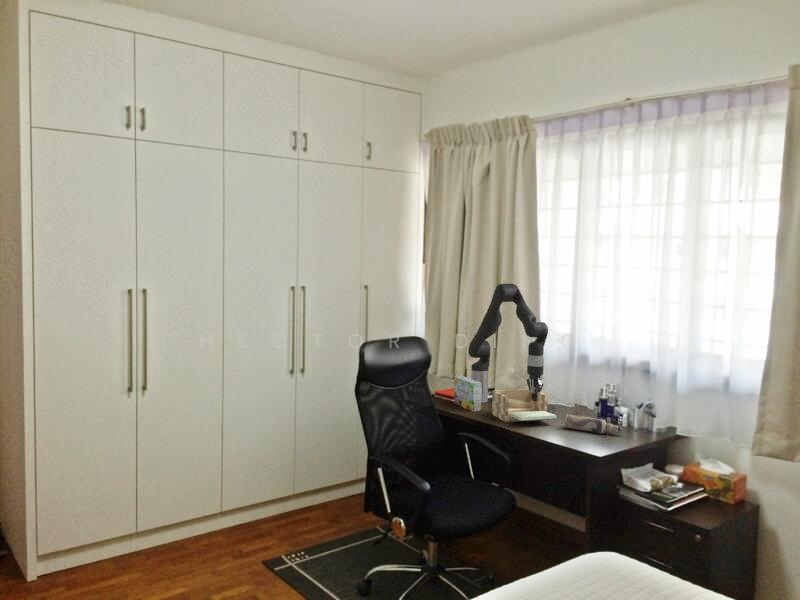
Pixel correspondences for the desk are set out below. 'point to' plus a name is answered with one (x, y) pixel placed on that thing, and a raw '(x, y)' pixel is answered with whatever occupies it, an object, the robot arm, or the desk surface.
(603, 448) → the desk surface
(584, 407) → the desk surface
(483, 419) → the desk surface
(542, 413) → the white rectangular panel
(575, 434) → the desk surface
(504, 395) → the beige open box
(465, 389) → the snack box
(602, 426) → the decorative bottle
